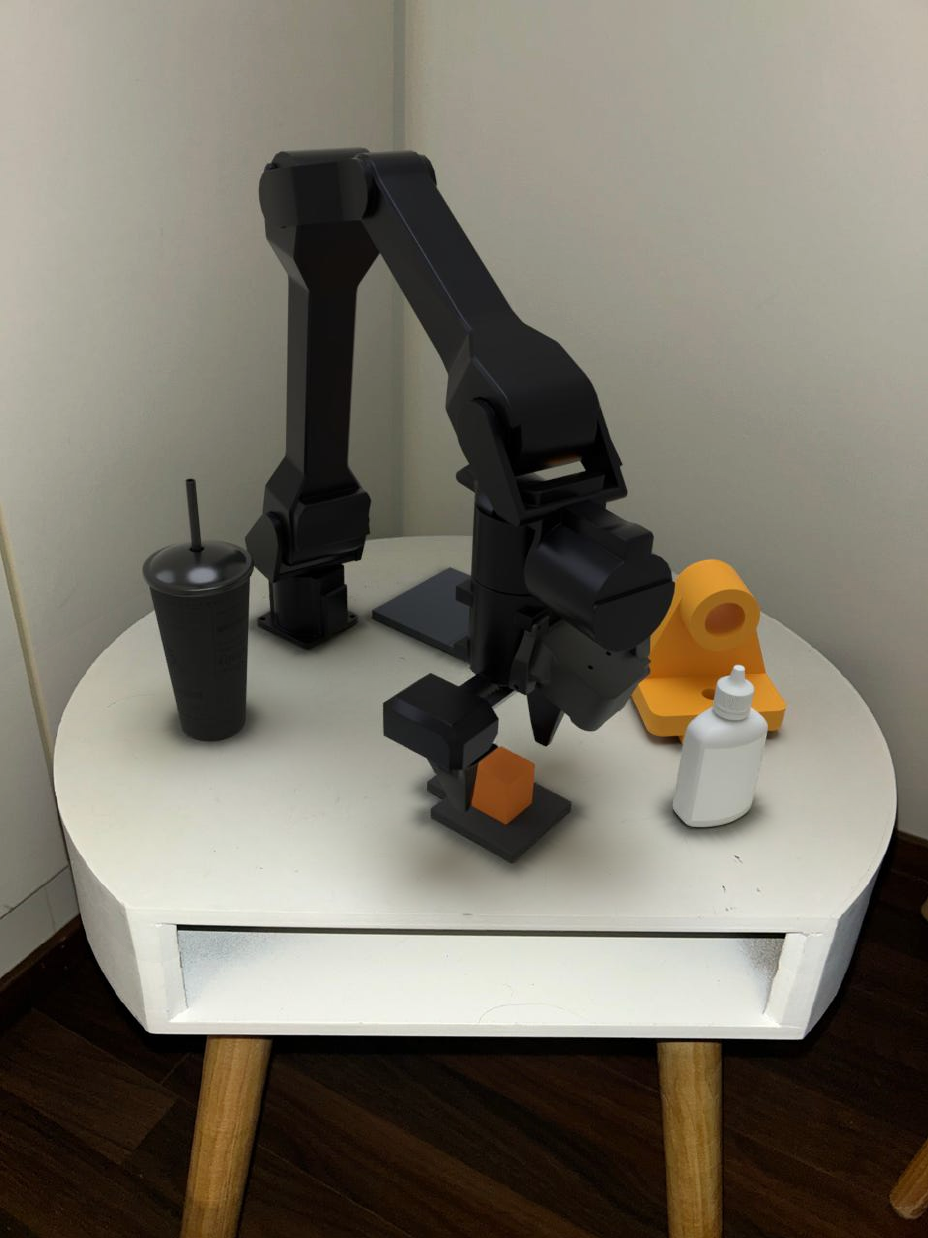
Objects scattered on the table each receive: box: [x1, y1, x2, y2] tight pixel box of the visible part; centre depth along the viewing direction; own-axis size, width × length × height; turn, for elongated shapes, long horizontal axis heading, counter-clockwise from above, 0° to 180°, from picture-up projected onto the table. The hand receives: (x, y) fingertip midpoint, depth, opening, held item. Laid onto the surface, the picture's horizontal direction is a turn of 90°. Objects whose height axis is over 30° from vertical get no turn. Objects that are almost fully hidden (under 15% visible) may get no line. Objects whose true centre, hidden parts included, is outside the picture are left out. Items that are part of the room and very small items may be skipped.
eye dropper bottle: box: [672, 665, 769, 828], centre depth 75 cm, size 4×6×12 cm
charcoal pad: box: [371, 566, 471, 656], centre depth 99 cm, size 11×11×1 cm
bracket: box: [631, 558, 787, 745], centre depth 85 cm, size 11×7×12 cm, turn 98°
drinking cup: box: [141, 477, 255, 742], centre depth 79 cm, size 8×8×20 cm
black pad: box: [426, 745, 572, 864], centre depth 76 cm, size 9×7×4 cm
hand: (503, 774), depth 75 cm, fingers open, 9 cm apart
